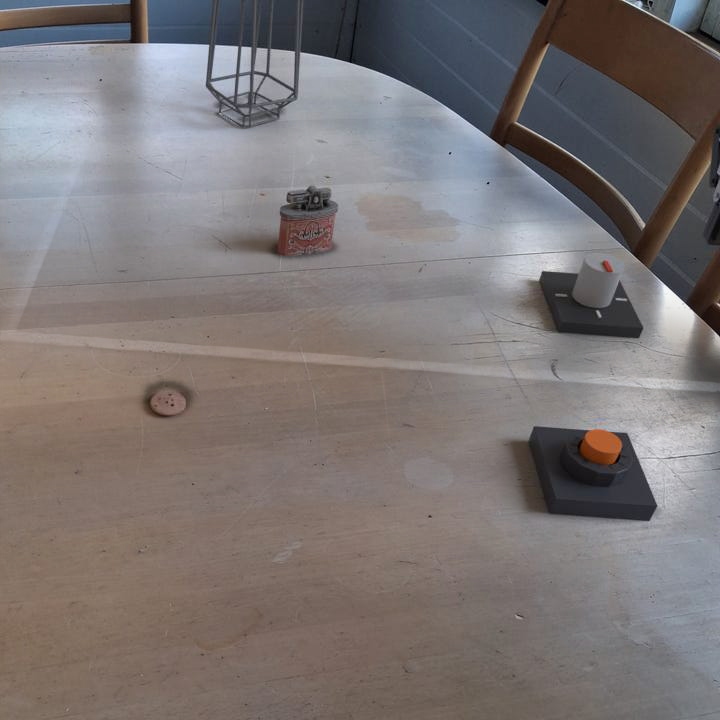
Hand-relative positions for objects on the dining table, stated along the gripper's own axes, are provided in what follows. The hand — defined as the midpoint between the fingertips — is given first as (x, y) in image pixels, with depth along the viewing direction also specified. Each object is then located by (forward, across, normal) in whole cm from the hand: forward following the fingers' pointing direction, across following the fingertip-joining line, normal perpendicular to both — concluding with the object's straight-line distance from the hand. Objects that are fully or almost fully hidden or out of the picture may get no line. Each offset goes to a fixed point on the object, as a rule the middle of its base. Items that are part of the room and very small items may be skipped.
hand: (714, 241), depth 90 cm
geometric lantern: (+19, +75, +46) cm, 90 cm away
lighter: (+20, +28, +38) cm, 51 cm away
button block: (+20, -14, +10) cm, 27 cm away
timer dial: (+17, +17, +2) cm, 24 cm away
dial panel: (+20, +17, +2) cm, 27 cm away
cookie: (+19, -6, +54) cm, 58 cm away
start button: (+17, -14, +10) cm, 24 cm away
